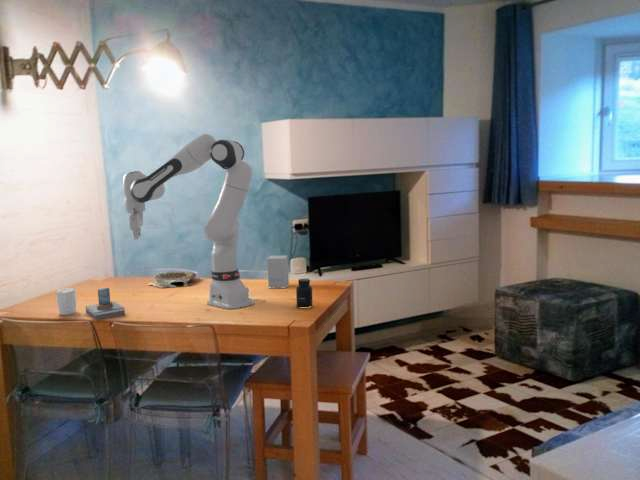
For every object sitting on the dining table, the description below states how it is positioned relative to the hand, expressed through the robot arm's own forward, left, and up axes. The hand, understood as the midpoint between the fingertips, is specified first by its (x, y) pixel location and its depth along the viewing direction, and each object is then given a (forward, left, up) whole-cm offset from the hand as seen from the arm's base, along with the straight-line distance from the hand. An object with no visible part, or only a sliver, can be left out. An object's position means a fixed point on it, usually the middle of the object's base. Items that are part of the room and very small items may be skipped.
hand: (137, 237), depth 271 cm
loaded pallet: (-14, +21, -26) cm, 36 cm away
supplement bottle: (-63, -48, -29) cm, 84 cm away
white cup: (-1, +33, -29) cm, 44 cm away
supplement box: (-22, -61, -29) cm, 71 cm away
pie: (+24, -27, -30) cm, 47 cm away
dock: (-14, +21, -29) cm, 38 cm away
